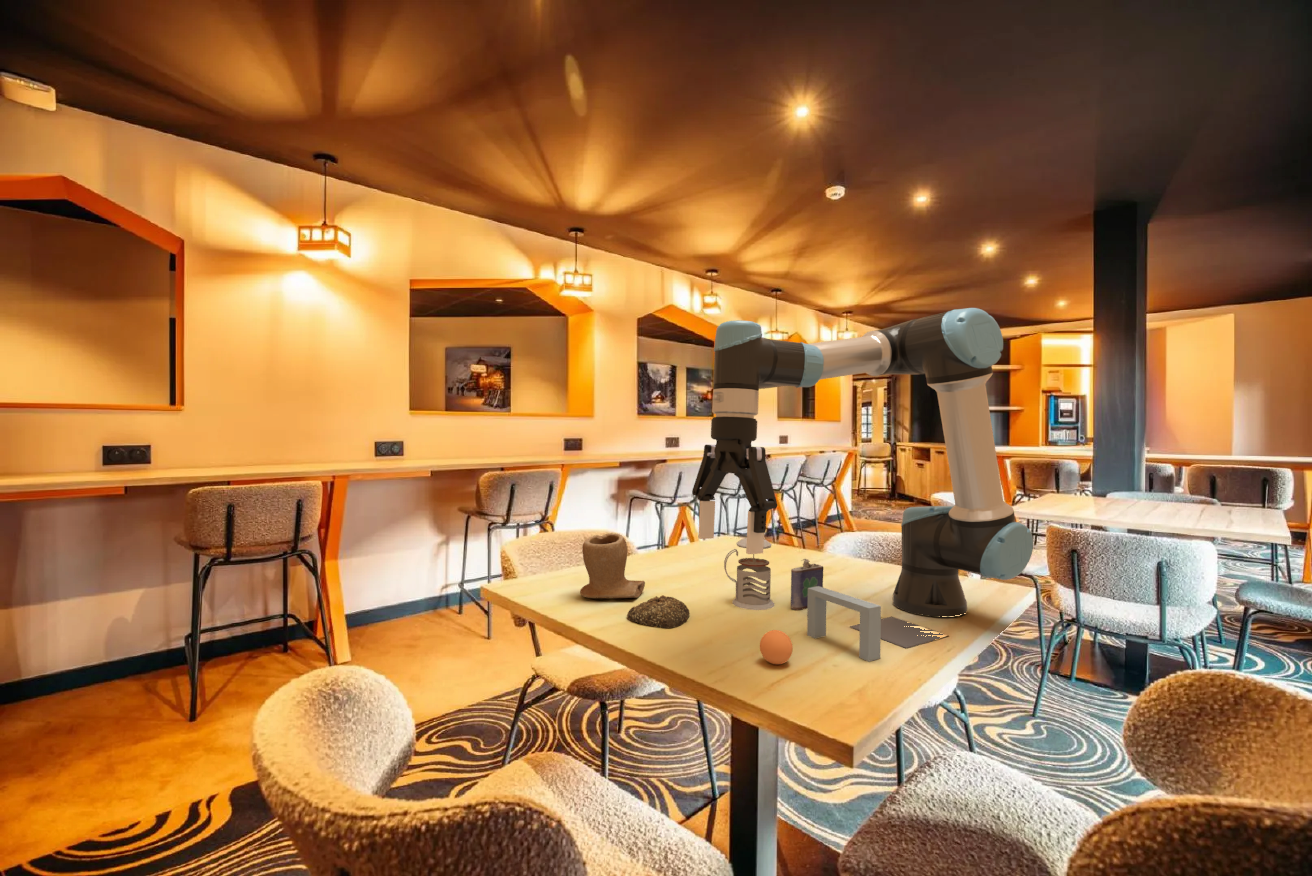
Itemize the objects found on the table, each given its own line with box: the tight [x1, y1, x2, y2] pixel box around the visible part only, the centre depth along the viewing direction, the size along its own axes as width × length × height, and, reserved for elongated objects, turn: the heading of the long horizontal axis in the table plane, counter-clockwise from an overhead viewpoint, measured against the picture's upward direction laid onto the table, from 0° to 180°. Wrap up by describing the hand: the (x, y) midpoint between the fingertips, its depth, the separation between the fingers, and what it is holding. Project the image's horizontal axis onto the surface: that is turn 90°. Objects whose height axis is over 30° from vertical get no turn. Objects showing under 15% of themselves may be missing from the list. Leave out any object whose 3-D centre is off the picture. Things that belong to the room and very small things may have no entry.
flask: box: [790, 558, 824, 611], centre depth 129 cm, size 9×3×11 cm, turn 121°
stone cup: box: [579, 532, 646, 599], centre depth 134 cm, size 15×12×15 cm
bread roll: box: [626, 594, 691, 629], centre depth 120 cm, size 13×12×5 cm
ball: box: [759, 629, 794, 665], centre depth 97 cm, size 6×6×6 cm
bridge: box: [806, 586, 882, 662], centre depth 105 cm, size 3×14×9 cm, turn 30°
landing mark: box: [849, 616, 944, 649], centre depth 113 cm, size 13×13×1 cm
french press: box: [723, 537, 776, 611], centre depth 131 cm, size 10×12×25 cm
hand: (728, 545), depth 93 cm, fingers open, 13 cm apart
